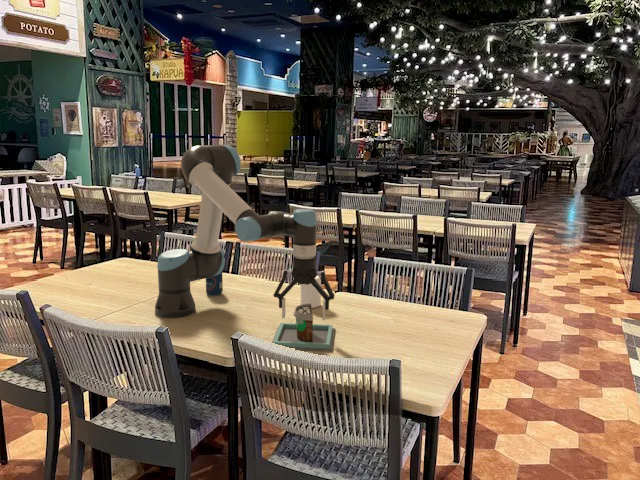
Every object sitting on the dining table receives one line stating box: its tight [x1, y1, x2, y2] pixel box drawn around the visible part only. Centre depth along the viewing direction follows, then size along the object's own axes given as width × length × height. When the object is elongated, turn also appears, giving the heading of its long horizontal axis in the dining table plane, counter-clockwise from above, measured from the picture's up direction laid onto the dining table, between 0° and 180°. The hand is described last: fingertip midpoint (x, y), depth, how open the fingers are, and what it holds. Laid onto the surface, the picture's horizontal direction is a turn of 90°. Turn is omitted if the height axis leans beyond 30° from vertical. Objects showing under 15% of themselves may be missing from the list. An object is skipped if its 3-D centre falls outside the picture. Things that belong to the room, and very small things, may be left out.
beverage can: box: [300, 275, 322, 309], centre depth 226 cm, size 8×8×12 cm
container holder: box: [271, 322, 336, 352], centre depth 192 cm, size 20×20×2 cm
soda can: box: [205, 271, 224, 297], centre depth 240 cm, size 7×7×12 cm
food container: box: [293, 304, 314, 342], centre depth 191 cm, size 12×6×10 cm, turn 3°
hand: (303, 318), depth 191 cm, fingers open, 13 cm apart
